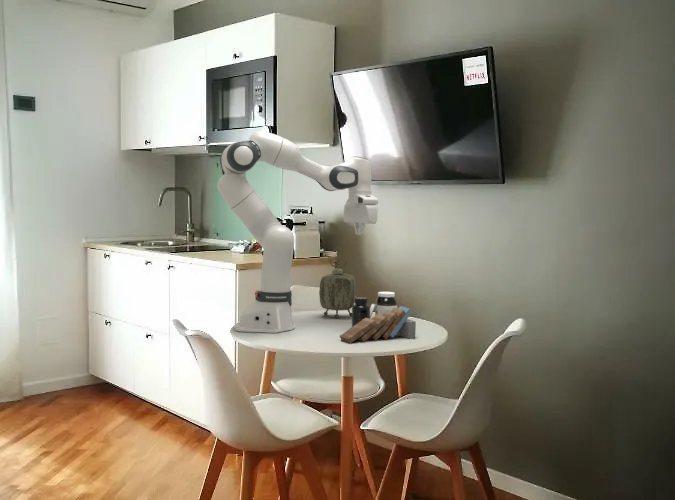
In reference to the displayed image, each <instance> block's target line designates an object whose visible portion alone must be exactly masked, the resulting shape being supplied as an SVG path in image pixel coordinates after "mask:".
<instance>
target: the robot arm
mask: <svg viewBox="0 0 675 500" xmlns="http://www.w3.org/2000/svg"><path fill="white" fill-rule="evenodd" d="M219 159H220V160H219V161H220V162H219V164H220V169H221V174H222V176H220V178H219V179H218V181H217V184H216V185H217V187H216V188H217V190H218V192H219V193H220V195H221V197H222V198H223V200H224V201H225V203H226V204H227V206H228V207H229V208H230V210H232V212H233V213H234V214H235V216H237V218H238V219H239V220H240V221H241V223H242V224H244V226H245V227H246V229H247V230H248V231H249V233H250V234H251V235H252V236H253V237H254V239H255V241H257V243H258V244H259V245H260V247H261V248H262V250H263V254H262V263H261V264H262V265H261V270H260V290H259V289H258V290H256V291H254V295H255V298H254V299H255V301H254V302H252V303H251V304H250V305H249V306H247V307H246V308H245V309H243V311H242V312H241V314H240V319H239V322H236V323H235V324H234V325H233V330H234V331H236V332H242V333H243V332H244V333H245V332H246V333H269V334H274V333H275V334H276V333H277V334H278V333H281V332H287V331H291V330H294V329H295V325H294V320H293V315H292V303H293V293H292V290H291V288H292V287H291V285H292V283H291V282H292V280H291V279H292V277H291V276H292V274H291V273H292V264H293V258H294V257H293V255H294V249H295V248H294V246H295V237H294V234H293V231H292V230H291V229H290V228H289V227H287V226H285V225H282V224H281V222H280V221H279V219H277V217H276V216H275V214H274V213H273V211H272V210H271V208H270V207H269V206H268V204H267V202H265V201H264V199H263V198H262V197H261V196H260V194H258V192H257V191H256V190H255V189H254V188H253V186H252V185H251V184H250V183H249V180H248V179H247V176H246V175H247V174H246V172H248V171H250V170H252V169H253V167H254V166H255V165H256V164H257V162H258V161H259V162H264V163H266V164H267V165H270V166H273V167H276V168H278V169H282V170H285V171H286V170H287V171H293V172H297V173H299V174H302V175H304V176H306V177H308V178H310V179H311V180H314V181H315V182H317V183H318V184H319V186H321V188H323V189H324V190H325V191H328V192H334V191H342V190H343V191H344V190H346V189H348V199H347V201H346V202H345V204H344V208H343V216H342V219H343V222H344V223H353V226H354V230H355V235H358V236H362V235H364V229H365V227H366V225H368V224H370V225H373V224H376V223H377V222H378V210H379V209H378V206H377V205H378V204H379V199H378V198H377V197H376V196H374V195H373V194H372V189H371V188H372V187H371V184H372V180H373V179H372V177H373V175H372V164H371V161H370V160H369V159H368V158H365V157H361V156H352V157H350V158H349V159H348V160H346V161H344V162H341V163H339V164H335V165H321V164H320V163H317V162H316V161H313V160H311V159H309V158H308V157H306V156H304V155H303V154H302V153H301V150H300V147H299V146H298V145H297V144H296V143H294V142H292V141H291V140H289V139H287V138H285V137H283V136H280V135H278V134H275V133H272V132H268V131H264V130H256V131H254V132H252V134H251V135H250V136H249V138H248V140H244V141H243V140H242V141H237V142H234V143H231V144H229V145H227V147H226V148H225V149H223V151H222V152H221V154H220V157H219Z"/></svg>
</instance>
